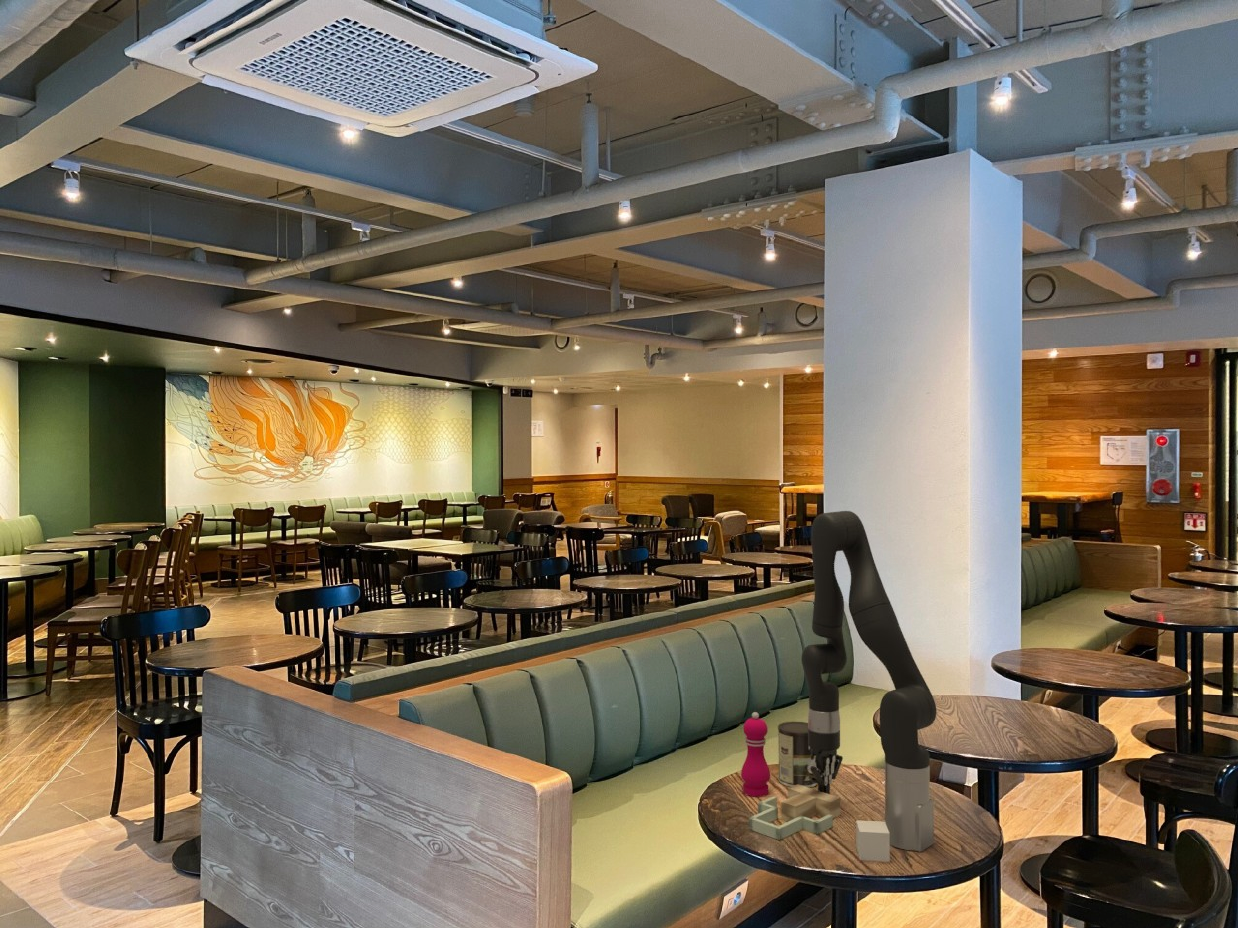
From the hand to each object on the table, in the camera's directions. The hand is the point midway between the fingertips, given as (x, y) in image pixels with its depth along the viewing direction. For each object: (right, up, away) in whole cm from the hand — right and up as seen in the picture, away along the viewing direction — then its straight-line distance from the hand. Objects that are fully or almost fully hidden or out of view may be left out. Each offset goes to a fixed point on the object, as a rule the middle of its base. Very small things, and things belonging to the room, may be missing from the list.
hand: (824, 798), depth 213 cm
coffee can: (-3, -2, +16) cm, 17 cm away
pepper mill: (-15, -2, +9) cm, 18 cm away
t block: (-6, -2, -5) cm, 8 cm away
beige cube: (+4, -2, -27) cm, 27 cm away
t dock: (-12, -2, -12) cm, 17 cm away
